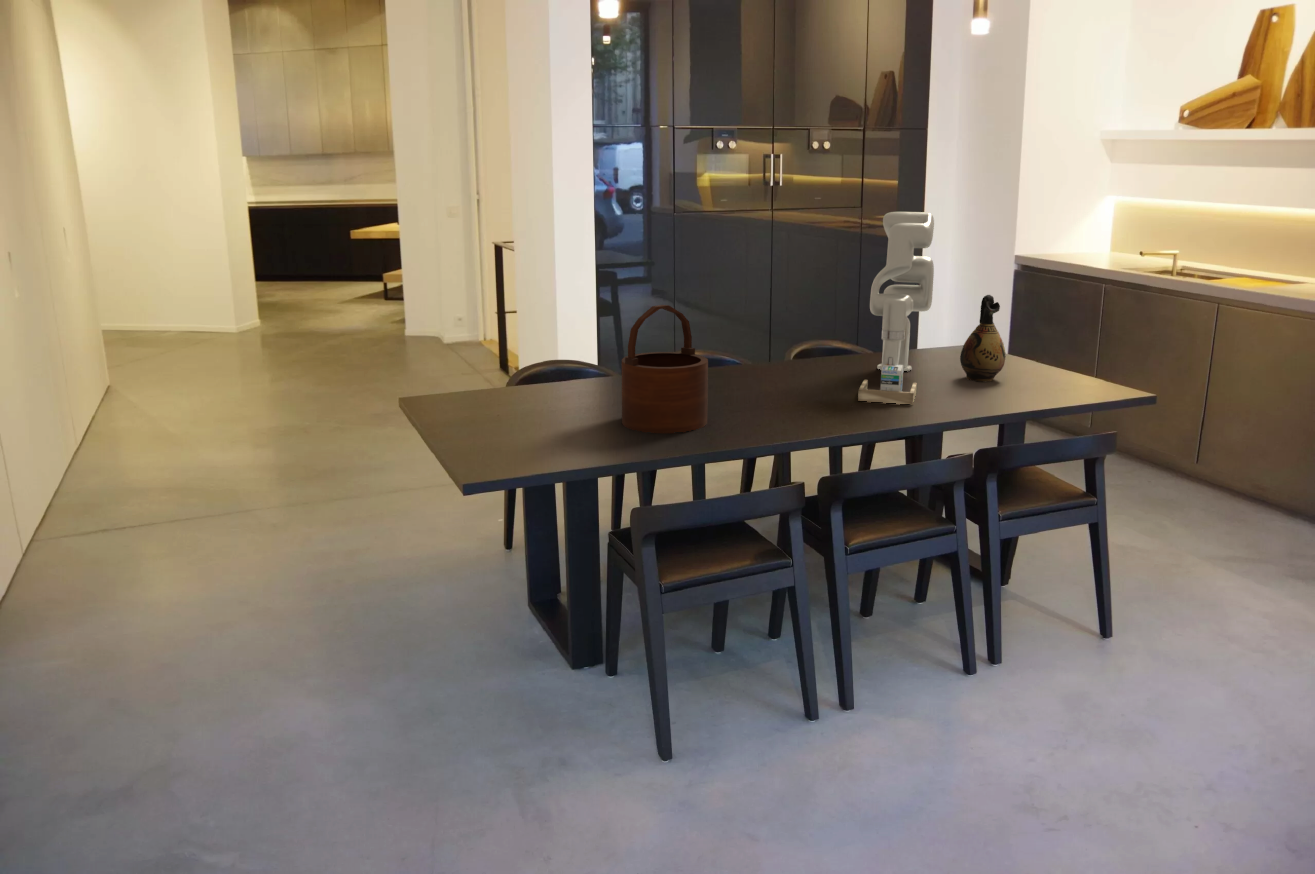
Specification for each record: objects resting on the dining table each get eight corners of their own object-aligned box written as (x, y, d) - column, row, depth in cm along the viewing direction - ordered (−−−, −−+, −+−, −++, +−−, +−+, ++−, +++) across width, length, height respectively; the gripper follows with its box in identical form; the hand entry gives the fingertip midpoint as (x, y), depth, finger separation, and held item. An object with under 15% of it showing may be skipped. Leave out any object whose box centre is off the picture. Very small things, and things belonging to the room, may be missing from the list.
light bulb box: (900, 403, 332) (902, 370, 330) (879, 401, 334) (880, 369, 331) (902, 396, 342) (904, 364, 339) (881, 394, 344) (883, 363, 341)
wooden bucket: (725, 422, 308) (727, 306, 299) (664, 438, 291) (664, 316, 282) (665, 408, 326) (665, 298, 317) (604, 422, 309) (602, 306, 299)
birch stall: (863, 391, 349) (864, 379, 348) (916, 394, 344) (916, 382, 343) (858, 401, 334) (858, 389, 333) (912, 405, 329) (913, 393, 328)
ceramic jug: (1009, 384, 360) (1017, 299, 353) (965, 383, 361) (972, 298, 353) (994, 374, 377) (1002, 292, 369) (952, 373, 377) (959, 292, 369)
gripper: (883, 330, 349) (880, 383, 354) (879, 338, 335) (876, 392, 340) (906, 331, 347) (903, 384, 352) (902, 339, 333) (899, 394, 338)
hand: (889, 388), depth 346 cm, fingers closed
